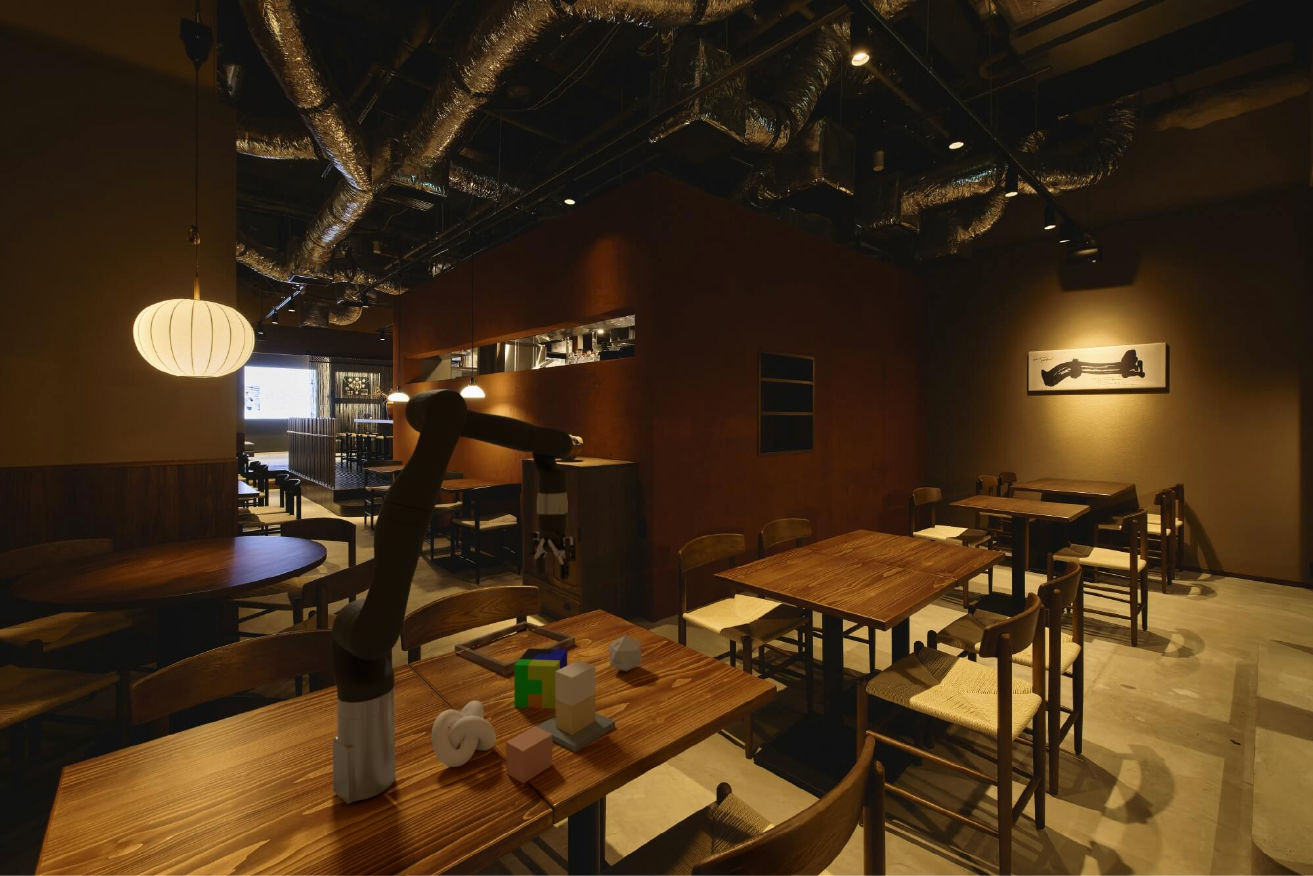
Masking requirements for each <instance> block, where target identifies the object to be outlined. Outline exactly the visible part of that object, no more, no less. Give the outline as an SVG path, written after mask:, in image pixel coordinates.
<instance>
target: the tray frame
mask: <svg viewBox="0 0 1313 876" xmlns="http://www.w3.org/2000/svg"><path fill="white" fill-rule="evenodd" d="M538 627H541V628H539V629H537V628H538ZM532 629H535V630H534V631H531V632H532V633H535V632H536V633H535V634H538V635H541V636H543V635H544V637H546V638H549V637H550V638H549V639H553V640H556V641H558V642H556V643H552V644H551V645H547V646H546V647H543V648H542V649H564V650H567V649H568V648H570V647H573V646H575V645H576V637H575V636H572V635H569V634H566V633H564V632H563V633H562V632H559V631H556V630H553V629H551V628H547V627H543V626H540V625H539V624H538V625H537V624H535V623H531V622H528V621H522V622H519V623H516V624H514V625H511V626H507V627H504V628H502V629H499V630H496V631H493V632H490V633H487V634H483V635H482V636H478V637H475V638H472V639H470V640H467V641H464V642H462V643H458V644H455V645H454V653H455V652H457V651H461V650H464V651H462V652H460V653H461V654H460V655H459V657H460V656H461V657H462V658H464V659H467V660H468V661H469V660H470V661H472V662H474V663H476V664H478V665H480V666H483V667H484V668H487V669H489V670H491V671H493V672H495V673H498V674H500V675H502V676H507V675H510V674H513V673H514V665H515V664H516V662H517V661H518V660H519V659H520V658H521V657H519V658H515V659H513V660H511V661H509V662H503V661H500V660H498V659H496V658H493V657H491V656H488V655H486V654H483V653H480V652H479V651H476V650H473V649H468V650H465V649H467V648H471V647H473V646H477V645H480V646H482V644H483V645H485V644H487V643H490V642H494V641H496V640H498V639H500V638H503V637H507V636H509V635H512V634H515V633H517V632H519V631H523V630H526V631H530V630H532ZM484 643H485V644H484ZM477 647H478V646H477ZM458 654H459V653H457V654H456V655H458Z"/></svg>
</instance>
